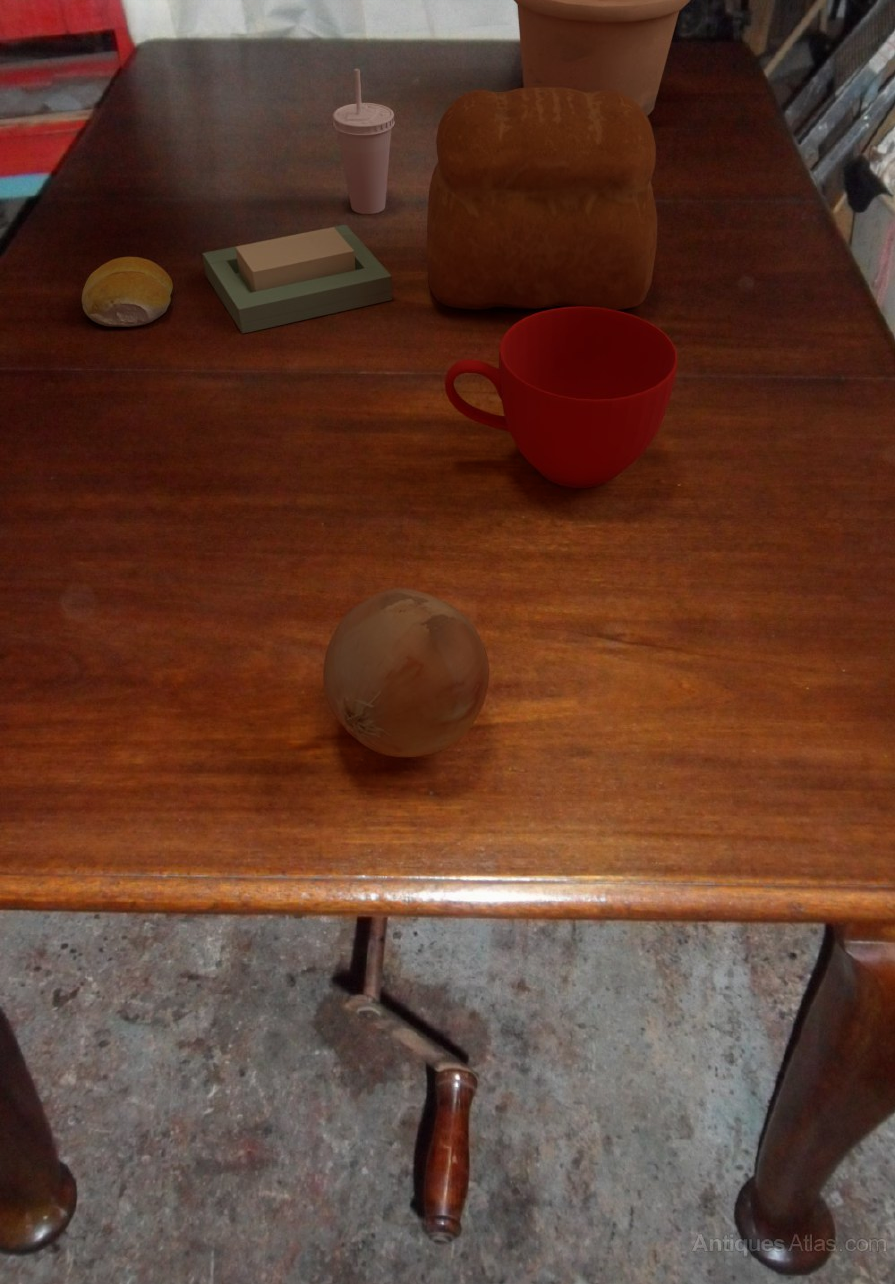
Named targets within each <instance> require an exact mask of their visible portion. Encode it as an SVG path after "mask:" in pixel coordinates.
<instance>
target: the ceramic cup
mask: <svg viewBox="0 0 895 1284" xmlns="http://www.w3.org/2000/svg"><path fill="white" fill-rule="evenodd" d="M678 363H679V362H678V352H677V349H676V346H675V345H674V343H673V341H671V339H670V338H669V337H668V336H667V334H666V333H665V332H664V331H662V329H660V328H658V326H656V325H654V324H652V323H651V322H649V321H647V320H646V319H643V318H641V317H639V316H636V315H634V314H631V313H628V312H623V311H620V310H611V309H605V308H598V307H583V306H582V307H576V306H563V307H558V308H557V307H556V308H551V309H547V310H542V311H539V312H536V313H534V314H531V315H528V316H526V317H524V318H522V319H521V320H519V321H517V322H516V323H514V324H513V325H512V326H511V327H510V328H509V329H507V331H506V332H505V334H504V335H503V337H502V339H501V340H500V345H499V350H498V367H496V366H494V365H492V364H490V363H488V362H485V361H482V360H478V359H469V358H467V359H462V360H459V361H456V362H454V363H453V364H452V365H451V366H450V367H449V368H448V371H447V372H446V374H445V378H444V390H445V394H446V396H447V398H448V400H449V402H450V403H451V405H452V406H453V407H454V408H455V410H457V411H458V412H459V413H460V414H462V415H463V416H464V417H466V418H468V419H469V420H472V421H474V422H477V423H478V424H481V425H484V426H487V427H491V428H494V429H497V430H501V431H505V432H509V435H510V436H511V438H512V440H513V442H514V444H515V447H517V449H518V451H519V452H520V453H521V455H522V456H523V457H524V458H525V459H526V461H528V463H529V464H530V465H531V466H532V467H533V468H535V470H537V471H538V472H539V474H540V475H541V476H542V477H544V478H545V479H546V480H547V481H550V482H551V483H554V484H556V485H559V486H562V487H566V488H571V489H589V488H594V487H597V486H601V485H604V484H606V483H607V482H609V481H611V480H612V479H614V478H615V477H616V476H618V475H620V474H621V473H623V472H624V471H626V470H627V469H628V468H629V467H630V466H632V465H633V464H634V463H635V462H636V461H637V460H639V459H640V457H641V456H642V455H643V454H644V453H645V451H646V450H647V449H648V448H649V446H650V445H651V443H652V442H653V440H655V437H656V435H657V433H658V432H659V429H660V427H661V426H662V423H663V420H664V417H665V414H666V412H667V408H668V406H669V402H670V400H671V396H672V392H673V389H674V386H675V381H676V377H677V374H678V373H677V371H678V365H679V364H678ZM463 374H477V375H481V376H483V377H485V378H486V379H487V380H489V381H490V383H492V384H493V386H494V387H495V390H496V392H497V395H498V397H499V399H500V400H501V406H502V411H503V415H501V414H495V413H493V412H492V413H491V412H489V411H485V410H483V409H481V408H478V407H477V406H474V405H472V404H470V403H468V402H467V401H466V400H465V399H463V398H462V396H461V395H460V394H459V392H458V391H457V390H456V387H455V384H454V383H455V380H456V378H457V377H459V376H460V375H463Z"/></svg>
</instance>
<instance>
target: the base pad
mask: <svg viewBox="0 0 895 1284" xmlns="http://www.w3.org/2000/svg"><path fill="white" fill-rule="evenodd" d="M332 227H334V228H335V229H336V230H337V232H338V233H339V234H340V235H341V236H342V237H343V239H344V240H345V241H346V242H347V243H348V244H349V246H350V247H351V248H352V249H353V250H354V256H355V271H350V272H345V273H341V274H336V275H331V276H327V277H322V278H317V279H313V280H308V281H303V282H299V283H294V284H289V285H285V286H280V287H275V288H271V289H266V290H261V291H257V292H252V293H251V292H250V291H249V289H248V288H247V286H246V285H245V283H244V282H243V280H242V279H241V277H240V275H239V268H238V261H237V255H236V248H235V247H238V246H243V245H248V244H252V243H253V242H250V243H246V244H241V245H237V246H230V247H226V248H221V249H216V250H211V251H210V250H209V251H206V252H202V261H203V265H204V271H205V276H206V279H207V280H208V282H209V283H210V285H211V287H213V290H214V291H215V293H216V295H217V296H218V298H219V299H220V301H221V302H222V304H223V306H224V308H225V309H226V310H227V312H228V314H229V315H230V316H231V318H232V320H233V321H234V323H235V324H236V325H235V326H237V328H238V329H239V331H240V333H241V334H243V335H244V334H249V333H254V332H258V331H262V330H267V329H270V328H274V327H279V326H284V325H289V324H293V323H297V322H301V321H306V320H310V319H314V318H318V317H323V316H328V315H332V314H337V313H341V312H345V311H350V310H354V309H359V308H363V307H368V306H372V305H376V304H381V303H385V302H391V301H392V300H393V281H392V279H393V278H392V277H393V276H392V275H391V273H389V272H388V271H389V270H387V268H385V267H384V265H382V263H381V262H380V261H379V260H378V259H377V258H376V256H374V254H373V252H371V251H370V250H369V249H368V248H367V246H366V245H365V244H364V243H363V241H361V239H360V238H359V237H358V236H357V235H356V234H355V233H354V231H352V229H351V228H350V227H349V226H348V225H347V224H341V225H335V226H330V227H329V228H332ZM327 228H328V227H325V228H324V229H327ZM322 229H323V228H320V229H319V230H322ZM317 230H318V229H316V230H314V231H317ZM312 231H313V230H310V231H309V232H312ZM307 232H308V231H306V232H304V233H307ZM302 233H303V232H300V233H299V234H302ZM297 234H298V233H296V234H294V235H297ZM292 235H293V234H291V235H289V236H292ZM287 236H288V235H286V236H284V237H287ZM282 237H283V236H281V237H279V238H282ZM277 238H278V237H275V238H274V239H277ZM272 239H273V238H270V239H269V240H272ZM267 240H268V239H266V240H264V241H267ZM262 241H263V240H260V241H259V242H262ZM257 242H258V241H256V242H254V243H257Z"/></svg>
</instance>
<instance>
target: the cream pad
mask: <svg viewBox="0 0 895 1284" xmlns="http://www.w3.org/2000/svg"><path fill="white" fill-rule="evenodd" d="M331 227H332V228H330V227H326V228H327V229H325V228H321V229H322V230H320V229H316V230H317V231H315V230H311V231H312V232H310V231H306V232H307V233H305V232H301V233H302V234H300V233H296V234H297V235H295V234H291V235H292V236H290V235H286V236H287V237H285V236H281V237H282V238H280V237H276V238H277V239H275V238H271V239H272V240H270V239H266V240H267V241H265V240H261V241H262V242H260V241H256V242H257V243H255V242H251V243H252V244H250V243H247V244H248V245H245V244H242V245H243V246H240V245H237V246H238V247H235V246H234V247H235V248H236V255H237V261H238V268H239V275H240V277H241V279H242V280H243V282H244V283H245V285H246V286H247V288H248V289H249V291H250V292H251V293H252V292H257V291H261V290H266V289H271V288H275V287H280V286H285V285H289V284H294V283H299V282H303V281H308V280H313V279H317V278H322V277H327V276H331V275H336V274H341V273H345V272H350V271H355V256H354V250H353V249H352V248H351V247H350V246H349V244H348V243H347V242H346V241H345V240H344V239H343V237H342V236H341V235H340V234H339V233H338V232H337V230H336V229H335V228H334V227H335V226H331Z"/></svg>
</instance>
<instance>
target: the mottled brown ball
mask: <svg viewBox="0 0 895 1284" xmlns="http://www.w3.org/2000/svg"><path fill="white" fill-rule="evenodd" d="M324 655H325V656H324V662H323V669H322V680H323V689H324V694H325V698H326V701H327V703H328V706H329V708H330V710H331V712H332V714H333V715H334V716H335V718H336V719H337V721H338V722H339V723H340V724H341V725H342V727H343V728H344V729H345V730H346V732H347V733H348V734H349V735H351V736H352V737H353V738H354V739H356V740H357V741H358V742H359V743H360V744H361V745H362V746H365V747H366V748H368V749H370V750H371V751H373V752H375V753H377V754H381V755H384V756H388V757H396V758H416V757H417V758H419V757H423V756H427V755H433V754H437V753H439V752H442V751H444V750H446V749H448V748H450V747H452V746H453V745H455V744H456V743H458V742H459V741H460V740H461V739H462V738H463V737H464V736H465V735H466V734H467V733H468V732H469V730H471V728H472V726H473V724H474V723H475V721H476V720H477V718H478V716H479V715H480V713H481V711H482V709H483V706H484V703H485V701H486V697H487V692H488V687H489V682H490V662H489V657H488V653H487V649H486V647H485V645H484V643H483V641H482V639H481V636H480V634H479V633H478V631H477V629H476V628H475V626H474V625H473V624H472V623H471V621H470V620H469V619H468V617H467V616H466V615H465V614H464V613H463V612H462V611H460V610H459V609H458V608H456V607H455V606H454V605H452V604H450V603H448V602H447V601H445V600H443V599H440V598H439V597H436V596H434V595H431V594H428V593H425V592H423V591H420V590H416V589H413V588H404V587H403V588H402V587H392V588H391V587H390V588H387V589H385V590H382V591H380V592H378V593H376V594H374V595H372V596H370V597H368V598H367V599H365V600H363V601H362V602H360V603H358V604H357V605H356V606H354V607H353V608H352V609H350V610H349V611H348V612H347V613H346V614H345V616H344V617H343V618H342V619H341V621H340V622H339V623H338V625H337V627H336V628H335V630H334V631H333V634H332V636H331V638H330V641H329V643H328V645H327V649H326V651H325V654H324Z"/></svg>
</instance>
